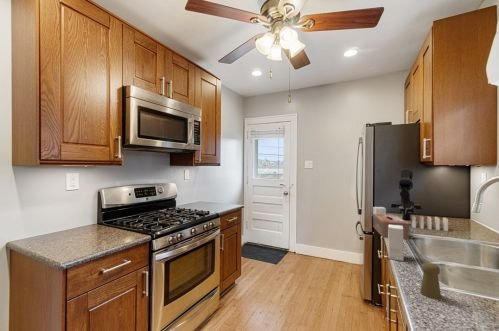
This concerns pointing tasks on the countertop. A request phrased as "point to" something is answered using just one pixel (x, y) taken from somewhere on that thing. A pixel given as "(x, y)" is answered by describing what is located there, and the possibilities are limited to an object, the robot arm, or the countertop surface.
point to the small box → (379, 210)
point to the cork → (430, 281)
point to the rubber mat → (428, 229)
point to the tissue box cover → (383, 222)
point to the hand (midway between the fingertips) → (405, 217)
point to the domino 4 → (445, 224)
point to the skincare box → (395, 242)
